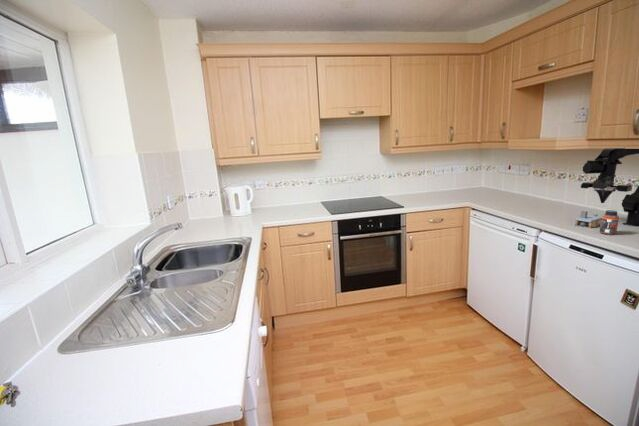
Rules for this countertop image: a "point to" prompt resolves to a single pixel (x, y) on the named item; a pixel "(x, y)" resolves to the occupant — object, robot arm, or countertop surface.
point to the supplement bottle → (609, 223)
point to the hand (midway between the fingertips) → (602, 202)
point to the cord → (584, 223)
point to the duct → (590, 223)
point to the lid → (588, 217)
